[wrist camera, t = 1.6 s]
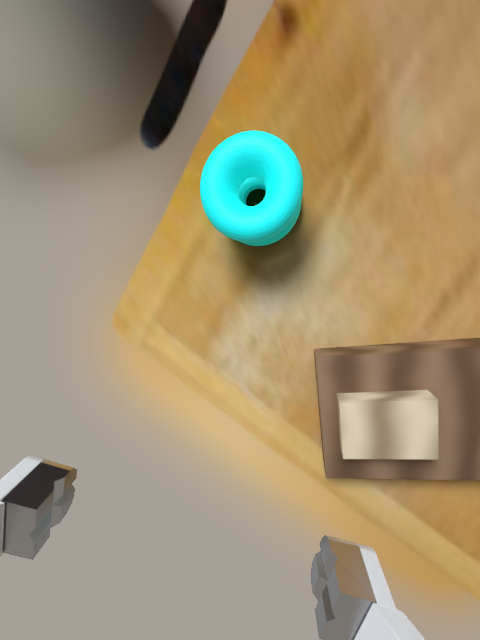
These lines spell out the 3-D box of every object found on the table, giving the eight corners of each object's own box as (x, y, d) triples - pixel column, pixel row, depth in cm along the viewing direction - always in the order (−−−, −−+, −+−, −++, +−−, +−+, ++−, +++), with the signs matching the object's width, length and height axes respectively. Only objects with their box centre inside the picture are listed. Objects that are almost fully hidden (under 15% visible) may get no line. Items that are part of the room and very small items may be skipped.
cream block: (427, 389, 33) (438, 399, 31) (428, 445, 35) (438, 459, 32) (336, 393, 35) (339, 403, 33) (339, 446, 37) (343, 459, 34)
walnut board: (486, 337, 35) (510, 346, 31) (484, 458, 38) (506, 481, 34) (313, 349, 39) (316, 358, 35) (323, 457, 42) (326, 477, 38)
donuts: (208, 115, 27) (317, 136, 25) (231, 154, 36) (311, 170, 35) (187, 228, 29) (286, 252, 28) (214, 236, 39) (288, 254, 37)
